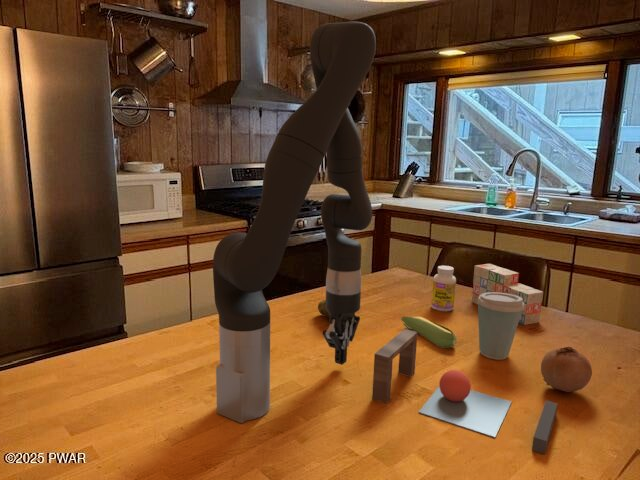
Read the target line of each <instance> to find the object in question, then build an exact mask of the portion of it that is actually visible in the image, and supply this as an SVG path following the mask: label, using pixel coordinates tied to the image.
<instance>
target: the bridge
mask: <svg viewBox="0 0 640 480" xmlns="http://www.w3.org/2000/svg"><path fill="white" fill-rule="evenodd" d="M417 343H418V332H416V331H414V330H412V329H406V328H404V329H403V330H401V331H400V332H399V333H398V334H396V336H394V337H393V338H392V339H390V340H389V341H388V342H386V343H385V344H384V345H383V346H382V347H380V348H379V349H378V350H377V351H376V352H375V353H374V356H373V357H374V360H373V376H372V395H371V399H372V400H374V401H377V402H380V403H383V404H388V402H389V401H390V400H391V392H392V376H393V363H394V362H393V360H394V359H395V358H396V357H397V356H398V355H399V359H398V373H397V374H400V375H402V376H407V377H410V378H412V377H413V376H414V374H415V371H416V360H417V359H416V357H417V345H418V344H417Z"/></svg>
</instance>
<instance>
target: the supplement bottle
mask: <svg viewBox="0 0 640 480" xmlns="http://www.w3.org/2000/svg"><path fill="white" fill-rule="evenodd" d="M454 272H455V269H454V267H453V266H449V265H438V266H437V273H436V274H435V275H434V276H433V281H432V289H431V290H432V292H431V304H430V306H431V308H432V309H433V310H436V311H437V312H438V311H439V312H451V311H452V310H454V306H455V298H456V297H455V295H456V288H457V278H456V276H455V275H454Z"/></svg>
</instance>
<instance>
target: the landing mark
mask: <svg viewBox="0 0 640 480" xmlns="http://www.w3.org/2000/svg"><path fill="white" fill-rule="evenodd" d="M512 403H513V402H512V401H510V400H507V399H504V398H500V397H496V396H493V395H489V394H487V393H483V392H480V391H476V390H472V389H471V390H470V393H469V395H468V396H467V397H466V398H465V399H464V400H462V401H458V402H454V401H450V400H448V399H447V398H445V397H444V396H443V394H442V393H441V391H440V387H439V386H437V388H436V389H435V391H434V392H433V393H432V395H431V396H430V397H429V398H428V399H427V401H426V402H425V404H424V405H423V406H422V407H421V408H420V410H419V411H418V414H420V415H425V416H427V417H430V418H433V419H436V420H439V421H442V422H445V423H449V424H452V425H454V426H457V427H460V428H463V429H465V430H470V431H472V432H476V433H479V434H481V435H484V436H488V437H490V438H494V439H496V437H497V435H498V433H499V430H500V428H501V427H502V425H503V422H504V421H505V418H506V416H507V414H508V412H509V409H510V407H511V405H512Z"/></svg>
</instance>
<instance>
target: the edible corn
mask: <svg viewBox="0 0 640 480" xmlns="http://www.w3.org/2000/svg"><path fill="white" fill-rule="evenodd" d="M400 318H401V322H403V324H404V325H405V326H406V327H407V328H408V329H409V330H411V331H415V332H418V333H417V335H420V336H422V337H423V338H424V339H426V340H427V341H428V342H431V343H432V344H434V345H435V346H436V347H439V348H443V349H448V348H452V347H454V346H455V345H456V344H457V338H456V334H455V333H454V332H453V331H452V330H451V329H449V328H448V327H446V326H443V325H441V324H439V323H436V322H433V321H431V320H429V319H427V318H425V317H421V316H405V315H404V316H402V317H400Z"/></svg>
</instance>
